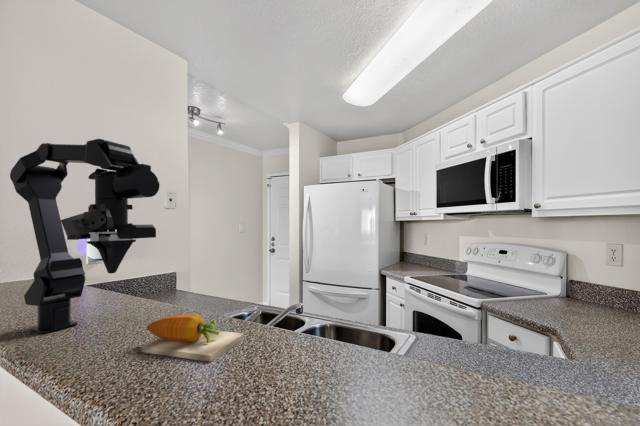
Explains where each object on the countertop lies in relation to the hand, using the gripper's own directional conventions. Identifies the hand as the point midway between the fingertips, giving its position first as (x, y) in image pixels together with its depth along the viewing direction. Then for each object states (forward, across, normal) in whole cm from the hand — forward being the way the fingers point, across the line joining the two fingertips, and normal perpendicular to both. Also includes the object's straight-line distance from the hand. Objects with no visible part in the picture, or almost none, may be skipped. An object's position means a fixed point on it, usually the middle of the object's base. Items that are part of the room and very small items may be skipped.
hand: (111, 273), depth 62 cm
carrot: (+10, +11, -1) cm, 15 cm away
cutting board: (+13, +21, 0) cm, 25 cm away
